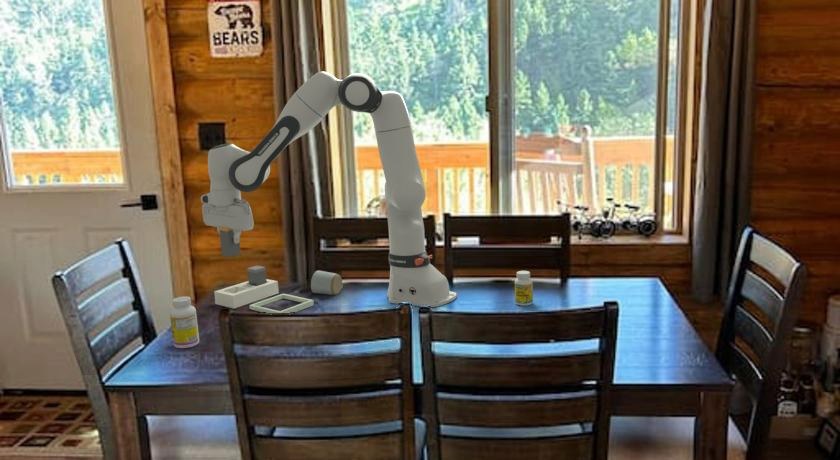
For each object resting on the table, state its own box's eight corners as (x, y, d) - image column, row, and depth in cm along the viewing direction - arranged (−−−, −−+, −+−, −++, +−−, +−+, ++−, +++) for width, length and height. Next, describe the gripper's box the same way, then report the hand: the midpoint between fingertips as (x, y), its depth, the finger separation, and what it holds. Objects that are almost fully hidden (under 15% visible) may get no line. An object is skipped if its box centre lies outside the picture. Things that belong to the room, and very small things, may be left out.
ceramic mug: (333, 298, 229) (332, 275, 227) (310, 296, 232) (309, 273, 230) (348, 289, 238) (347, 267, 237) (326, 288, 241) (325, 265, 240)
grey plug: (240, 254, 223) (238, 225, 221) (230, 257, 220) (227, 228, 218) (232, 252, 226) (229, 224, 224) (221, 255, 222) (219, 226, 221)
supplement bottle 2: (534, 301, 218) (533, 270, 216) (531, 306, 213) (531, 275, 211) (516, 300, 220) (516, 269, 218) (513, 305, 215) (512, 274, 213)
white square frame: (314, 306, 221) (313, 300, 221) (280, 319, 211) (279, 312, 210) (283, 300, 230) (283, 293, 229) (250, 312, 219) (249, 305, 219)
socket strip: (279, 296, 234) (277, 281, 233) (234, 311, 220) (232, 295, 219) (260, 292, 239) (259, 277, 238) (215, 306, 226) (214, 291, 224)
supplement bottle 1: (177, 341, 197) (171, 295, 194) (201, 339, 197) (196, 294, 195) (171, 350, 190) (165, 303, 188) (196, 348, 191) (191, 301, 188)
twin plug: (267, 294, 233) (265, 267, 232) (257, 297, 230) (255, 270, 228) (259, 292, 236) (257, 265, 234) (249, 295, 233) (247, 268, 231)
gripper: (256, 198, 215) (260, 243, 218) (213, 193, 228) (218, 236, 231) (239, 201, 210) (244, 247, 213) (197, 196, 223) (201, 240, 226)
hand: (230, 242), depth 222 cm, fingers closed on grey plug, 4 cm apart
